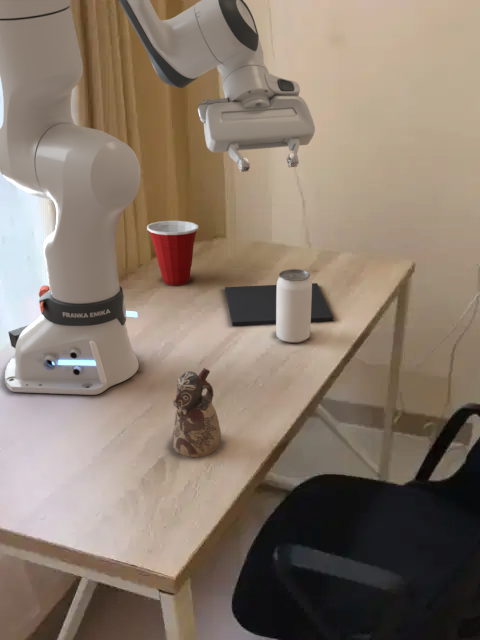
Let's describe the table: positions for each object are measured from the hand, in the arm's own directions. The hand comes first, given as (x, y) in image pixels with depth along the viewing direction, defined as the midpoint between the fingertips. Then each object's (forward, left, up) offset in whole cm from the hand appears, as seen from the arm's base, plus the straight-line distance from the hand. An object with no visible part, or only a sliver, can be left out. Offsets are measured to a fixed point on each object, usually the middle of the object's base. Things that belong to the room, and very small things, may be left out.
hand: (269, 167), depth 134 cm
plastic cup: (-18, +19, -28) cm, 38 cm away
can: (+3, -12, -28) cm, 30 cm away
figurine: (-17, -47, -28) cm, 57 cm away
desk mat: (+2, +3, -27) cm, 28 cm away
